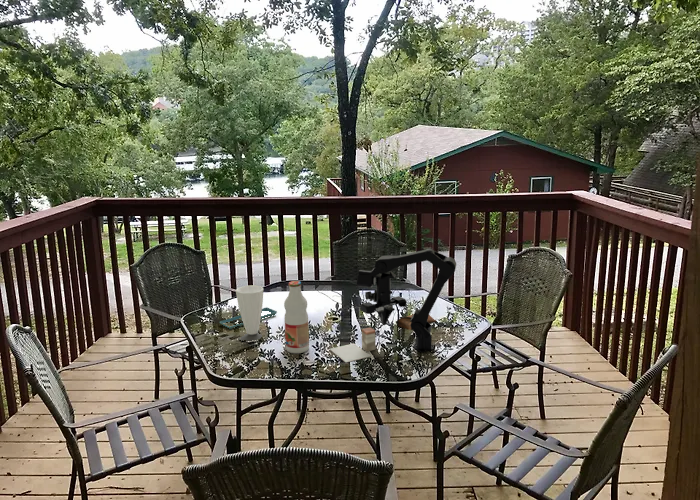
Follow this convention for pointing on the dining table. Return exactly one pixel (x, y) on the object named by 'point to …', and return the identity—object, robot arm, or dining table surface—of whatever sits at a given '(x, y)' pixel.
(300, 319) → the fruit juice
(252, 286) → the cup
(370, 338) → the tall block
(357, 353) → the beige flat slab
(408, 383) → the dining table surface
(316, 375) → the dining table surface
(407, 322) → the sunglasses case
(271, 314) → the teal flat open frame
